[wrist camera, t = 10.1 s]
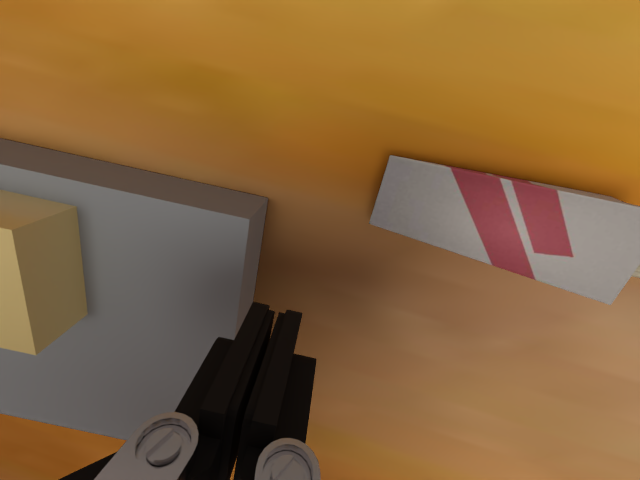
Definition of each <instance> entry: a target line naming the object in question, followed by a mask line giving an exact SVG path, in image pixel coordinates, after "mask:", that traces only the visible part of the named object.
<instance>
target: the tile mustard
mask: <svg viewBox="0 0 640 480" xmlns="http://www.w3.org/2000/svg"><path fill="white" fill-rule="evenodd" d="M87 314H88V312H87V302H86V292H85V283H84V273H83V263H82V254H81V244H80V235H79V225H78V215H77V206H73V205H68V204H63V203H59V202H54V201H50V200H45V199H41V198H36V197H32V196H27V195H23V194H18V193H14V192H9V191H5V190H0V348H4V349H9V350H13V351H18V352H23V353H27V354H32V355H37V354H38V353H40V352H41V351H42V350H43V349H45V348H46V347H47V346H48V345H50V344H51V343H52V342H53V341H55V340H56V339H57V338H58V337H60V336H61V335H62V334H63V333H65V332H66V331H67V330H68V329H70V328H71V327H72V326H73V325H75V324H76V323H77V322H78V321H80V320H81V319H82V318H84V317H85V316H86V315H87Z"/></svg>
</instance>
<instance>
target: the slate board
mask: <svg viewBox="0 0 640 480" xmlns="http://www.w3.org/2000/svg"><path fill="white" fill-rule="evenodd" d="M0 190H5V191H9V192H14V193H18V194H23V195H27V196H32V197H36V198H41V199H45V200H50V201H54V202H59V203H63V204H68V205H73V206H77V215H78V225H79V235H80V244H81V254H82V263H83V273H84V283H85V292H86V302H87V312H88V314H87V315H86V316H85V317H84V318H82V319H81V320H80V321H78V322H77V323H76V324H75V325H73V326H72V327H71V328H70V329H68V330H67V331H66V332H65V333H63V334H62V335H61V336H60V337H58V338H57V339H56V340H55V341H53V342H52V343H51V344H50V345H48V346H47V347H46V348H45V349H43V350H42V351H41V352H40V353H38V354H37V355H32V354H27V353H23V352H18V351H13V350H9V349H4V348H0V413H1V414H6V415H10V416H15V417H20V418H24V419H29V420H34V421H39V422H43V423H48V424H53V425H57V426H62V427H67V428H71V429H76V430H81V431H86V432H90V433H95V434H100V435H104V436H109V437H114V438H119V439H123V440H128V439H129V438H130V436H131V435H132V434H133V433H134V432H135V430H136V429H137V428H139V427H140V426H141V425H142V424H143V423H144V422H145V421H147V420H149V419H150V418H152V417H154V416H156V415H159V414H162V413H167V412H175V410H176V408H177V406H178V405H179V403H180V401H181V399H182V398H183V396H184V394H185V392H186V391H187V389H188V387H189V385H190V384H191V382H192V380H193V378H194V377H195V375H196V373H197V372H198V370H199V368H200V366H201V365H202V363H203V361H204V359H205V358H206V356H207V354H208V352H209V351H210V349H211V347H212V345H213V344H214V342H215V340H216V339H217V338H218V337H222V338H227V339H231V340H234V339H235V337H236V335H237V333H238V331H239V329H240V327H241V325H242V323H243V321H244V319H245V317H246V315H247V313H248V311H249V309H250V307H251V305H252V303H253V298H254V292H255V285H256V278H257V271H258V264H259V258H260V251H261V244H262V237H263V230H264V224H265V217H266V210H267V203H268V198H266V197H262V196H257V195H253V194H248V193H244V192H239V191H235V190H230V189H226V188H221V187H217V186H212V185H208V184H203V183H199V182H195V181H190V180H186V179H181V178H177V177H172V176H168V175H163V174H159V173H154V172H150V171H145V170H141V169H136V168H132V167H127V166H123V165H118V164H114V163H109V162H105V161H100V160H96V159H91V158H87V157H82V156H78V155H73V154H69V153H64V152H60V151H55V150H51V149H46V148H42V147H37V146H33V145H28V144H24V143H20V142H15V141H11V140H6V139H2V138H0Z"/></svg>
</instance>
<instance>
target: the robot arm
mask: <svg viewBox="0 0 640 480" xmlns="http://www.w3.org/2000/svg"><path fill="white" fill-rule="evenodd" d="M274 313H275V312H274V311H271V310H269V305H265V304H260V303H256V302H253V303H252V305H251V307H250V309H249V311H248V313H247V315H246V317H245V319H244V321H243V323H242V325H241V327H240V329H239V331H238V333H237V335H236V337H235V339H234V340H231V339H227V338H222V337H218V338H217V339H216V340H215V342H214V344H213V345H212V347H211V349H210V351H209V352H208V354H207V356H206V358H205V359H204V361H203V363H202V365H201V366H200V368H199V370H198V372H197V373H196V375H195V377H194V378H193V380H192V382H191V384H190V385H189V387H188V389H187V391H186V392H185V394H184V396H183V398H182V399H181V401H180V403H179V405H178V406H177V408H176V410H175V412H167V413H162V414H159V415H156V416H154V417H152V418H150V419H149V420H147V421H145V422H144V423H143V424H142V425H141V426H140V427H139V428H137V429H136V430H135V432H134V433H133V434H132V435H131V436H130V438H129V439H128V440H127V441H126V442H125V443H124V445H123V446H122V447H121V448H120V449H119V451H118V452H116V453H114V454H111V455H109V456H107V457H105V458H103V459H101V460H99V461H97V462H95V463H93V464H90V465H88V466H86V467H84V468H82V469H80V470H78V471H76V472H74V473H71V474H69V475H67V476H65V477H63V478H61V479H59V480H230V477H231V473H232V470H233V467H234V464H235V461H236V458H237V461H236V467H235V474H234V480H320V469H319V464H318V460H317V458H316V456H315V454H314V452H313V451H312V450H311V449H310V448H309V447H308V446H307V445H306V444H305V442H306V434H307V427H308V419H309V412H310V404H311V397H312V389H313V382H314V375H315V367H316V359H315V358H310V357H306V356H302V355H297V354H293V353H294V349H295V344H296V340H297V335H298V331H299V326H300V322H301V318H302V313H300V312H296V311H291V310H286V313H285V314H284V313H280V312H279V315H278V318H277V321H276V324H275V326H274V329H273V332H272V335H271V330H272V324H273V319H274ZM270 335H271V338H270Z"/></svg>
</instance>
